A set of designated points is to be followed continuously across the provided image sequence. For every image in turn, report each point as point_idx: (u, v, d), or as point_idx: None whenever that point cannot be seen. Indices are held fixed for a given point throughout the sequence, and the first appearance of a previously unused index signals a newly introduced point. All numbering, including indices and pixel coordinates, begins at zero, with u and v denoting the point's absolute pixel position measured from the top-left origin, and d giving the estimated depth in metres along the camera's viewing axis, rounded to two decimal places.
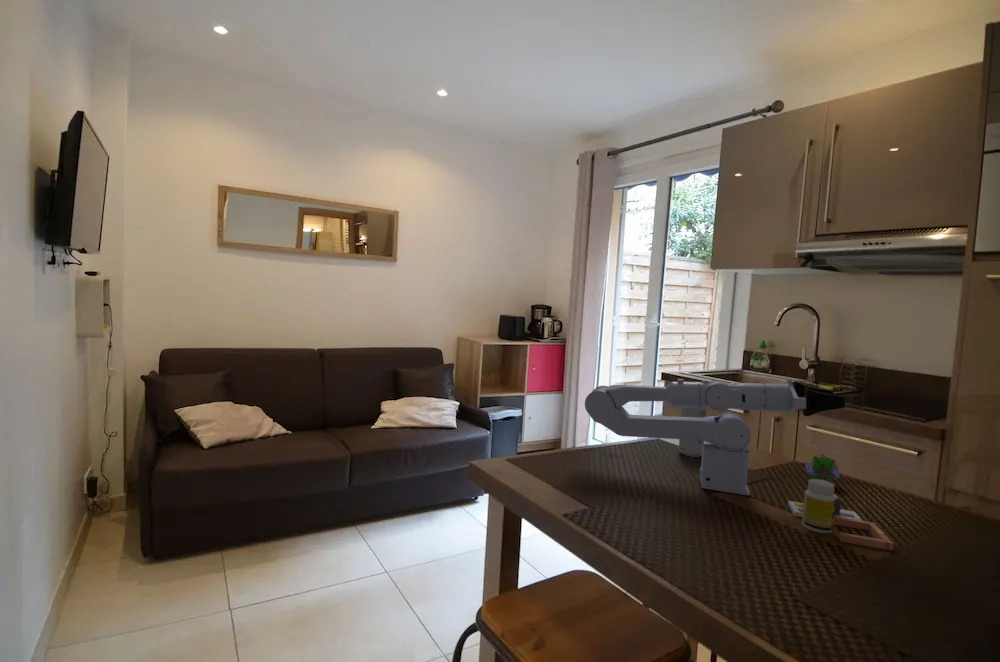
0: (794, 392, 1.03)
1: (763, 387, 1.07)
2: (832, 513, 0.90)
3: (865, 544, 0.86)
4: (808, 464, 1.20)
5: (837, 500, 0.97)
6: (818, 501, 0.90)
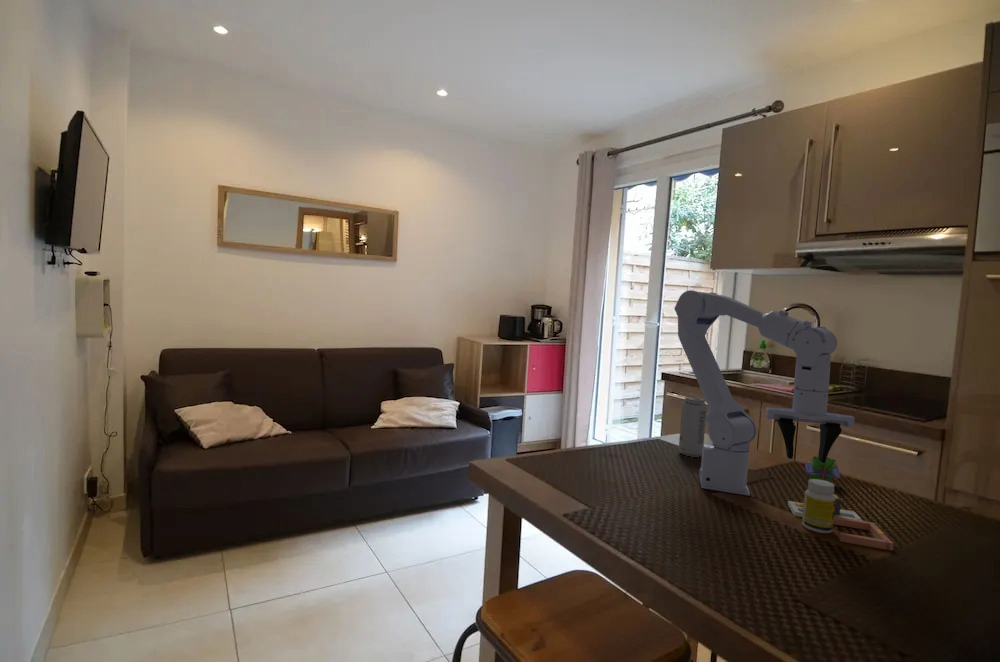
0: (786, 413, 0.99)
1: (820, 390, 0.96)
2: (832, 513, 0.90)
3: (865, 544, 0.86)
4: (808, 464, 1.20)
5: (837, 500, 0.97)
6: (818, 501, 0.90)
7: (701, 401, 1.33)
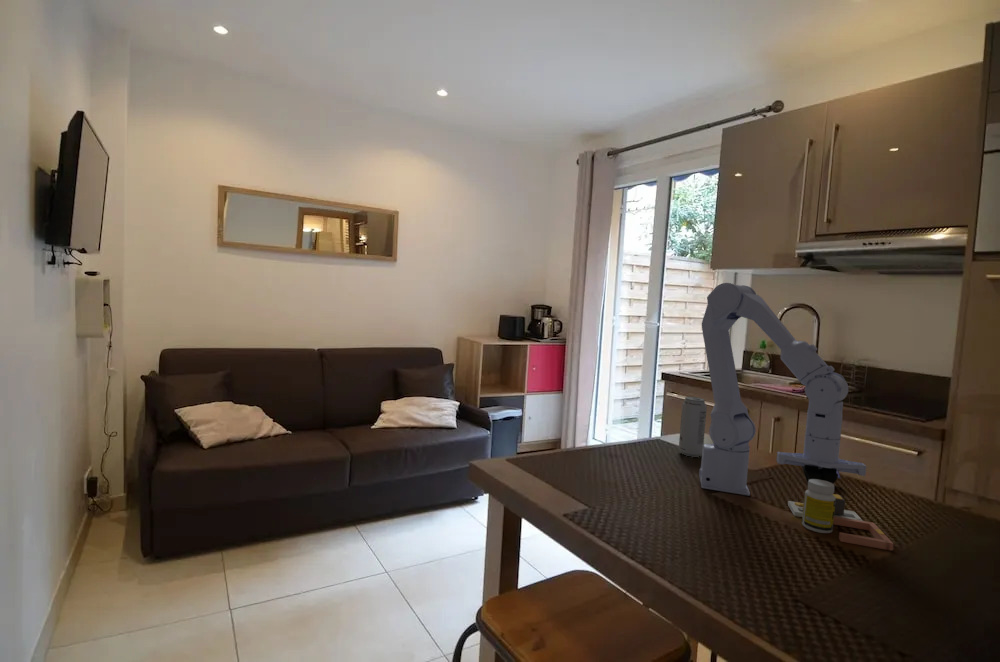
0: (797, 460, 0.98)
1: (833, 438, 0.96)
2: (832, 513, 0.90)
3: (865, 544, 0.86)
4: None
5: (841, 501, 0.97)
6: (818, 501, 0.90)
7: (701, 401, 1.33)
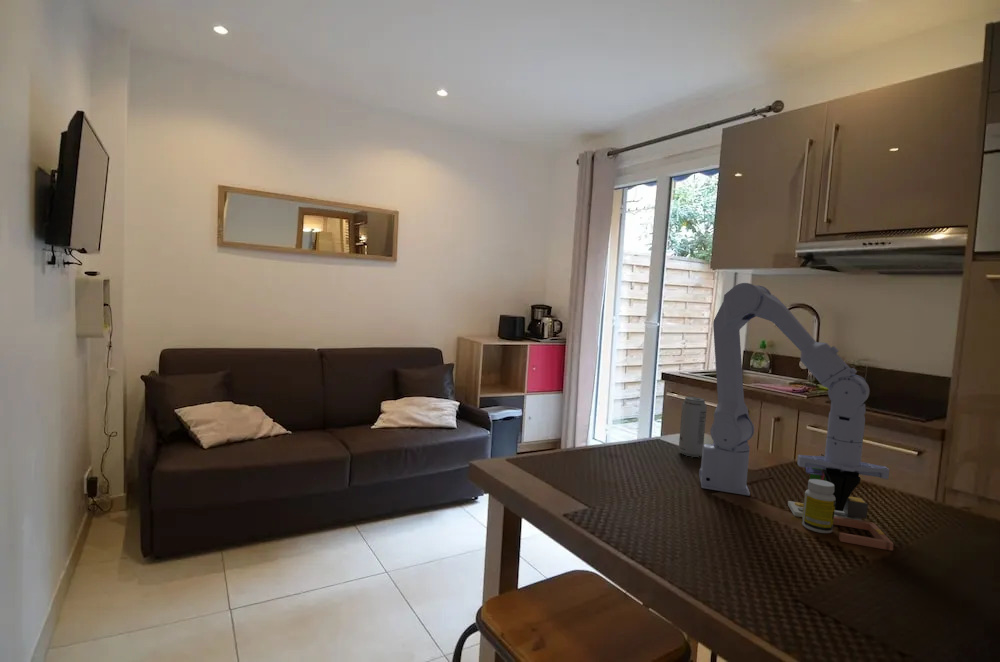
0: (819, 463, 0.97)
1: (857, 441, 0.94)
2: (832, 513, 0.90)
3: (865, 544, 0.86)
4: None
5: (864, 504, 0.95)
6: (818, 501, 0.90)
7: (701, 401, 1.33)
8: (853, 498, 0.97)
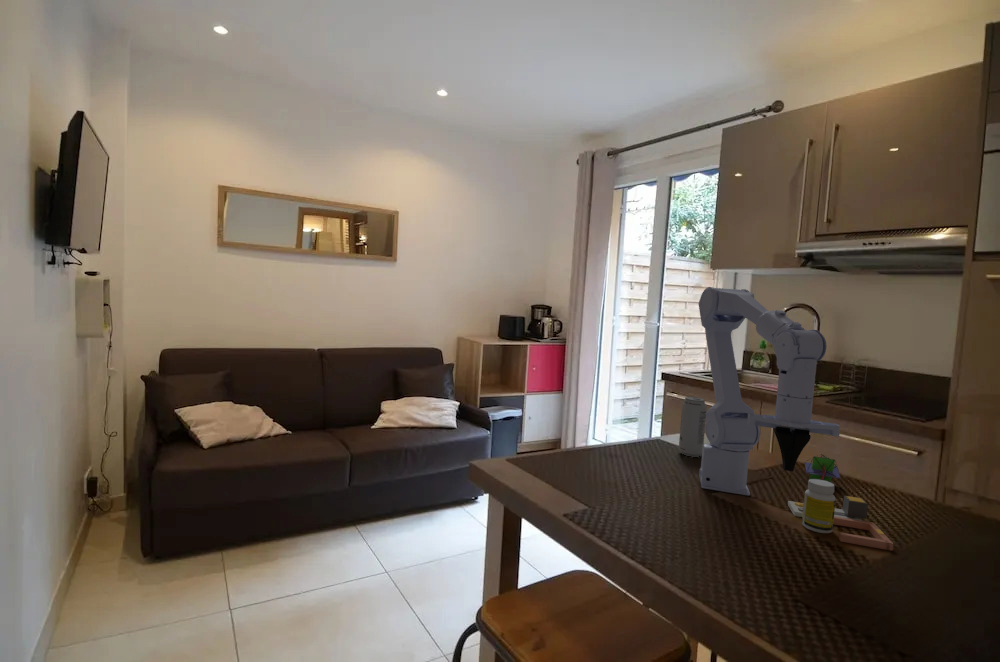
0: (768, 421, 0.93)
1: (795, 395, 0.91)
2: (832, 513, 0.90)
3: (865, 544, 0.86)
4: (808, 464, 1.20)
5: (864, 504, 0.95)
6: (818, 501, 0.90)
7: (701, 401, 1.33)
8: (853, 498, 0.97)
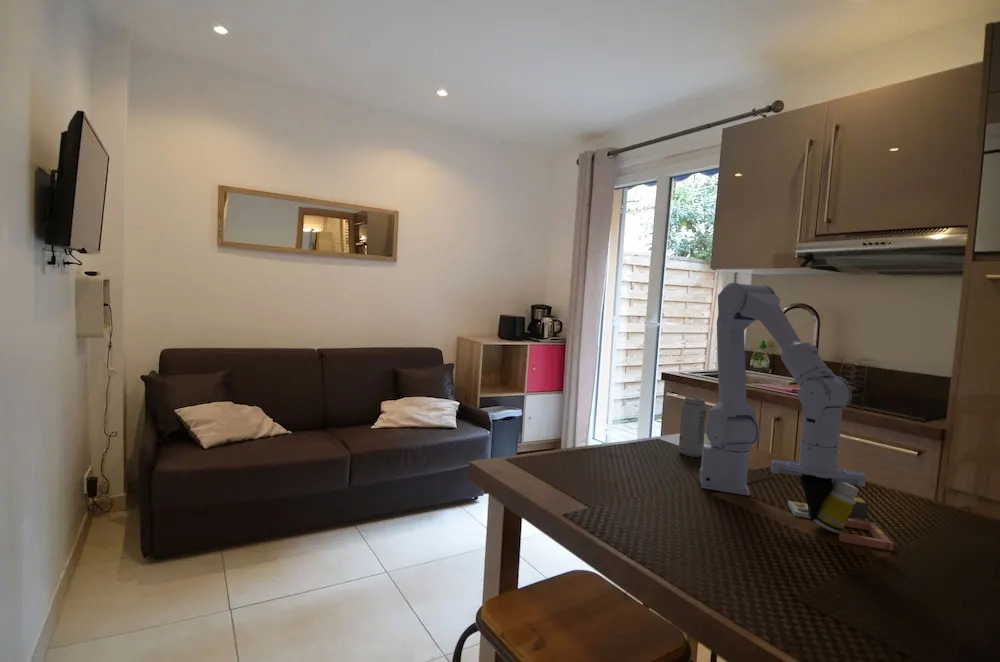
0: (792, 469, 0.92)
1: (824, 445, 0.89)
2: (848, 515, 0.90)
3: (865, 544, 0.86)
4: None
5: (864, 504, 0.95)
6: (838, 500, 0.89)
7: (701, 401, 1.33)
8: None
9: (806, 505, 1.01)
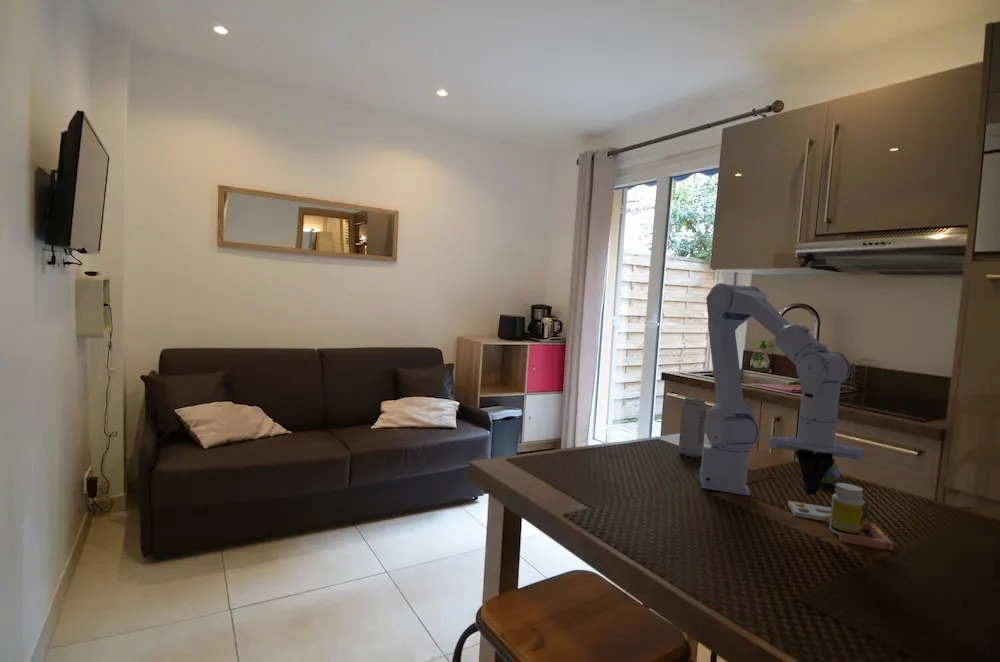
0: (790, 444, 0.92)
1: (822, 420, 0.89)
2: (860, 518, 0.89)
3: (865, 544, 0.86)
4: None
5: (864, 504, 0.95)
6: (845, 505, 0.89)
7: (701, 401, 1.33)
8: None
9: (806, 505, 1.01)
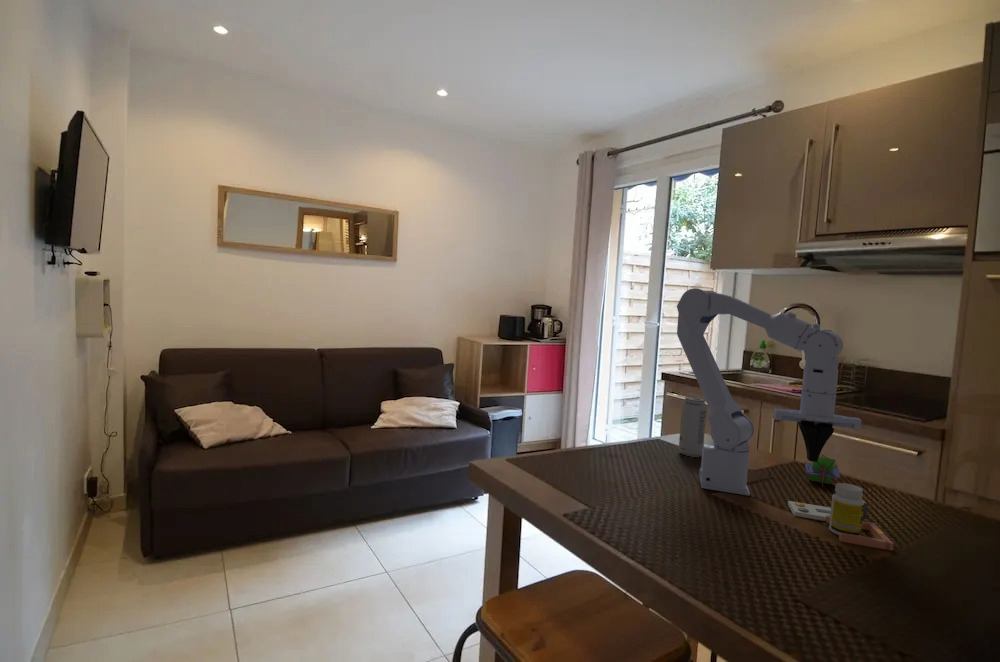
0: (794, 415, 1.00)
1: (830, 392, 0.97)
2: (860, 518, 0.89)
3: (865, 544, 0.86)
4: (808, 464, 1.20)
5: (864, 504, 0.95)
6: (845, 505, 0.89)
7: (701, 401, 1.33)
8: None
9: (806, 505, 1.01)
